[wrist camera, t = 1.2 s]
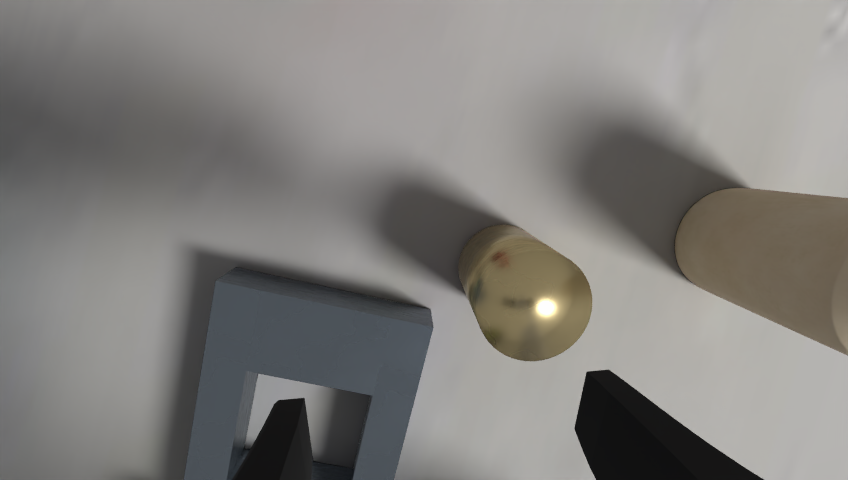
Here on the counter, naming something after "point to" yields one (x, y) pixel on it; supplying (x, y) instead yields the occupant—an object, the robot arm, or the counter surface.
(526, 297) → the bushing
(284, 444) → the robot arm
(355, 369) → the frame
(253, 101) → the counter surface
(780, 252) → the candle
